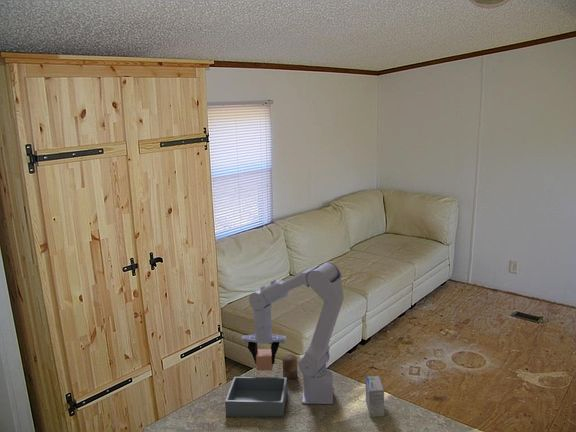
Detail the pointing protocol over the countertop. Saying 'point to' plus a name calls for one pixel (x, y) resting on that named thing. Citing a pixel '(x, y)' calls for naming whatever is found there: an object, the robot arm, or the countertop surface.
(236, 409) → the slate tote
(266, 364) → the terracotta cube
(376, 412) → the medicine box
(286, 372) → the walnut cylinder
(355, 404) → the countertop surface
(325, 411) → the countertop surface
